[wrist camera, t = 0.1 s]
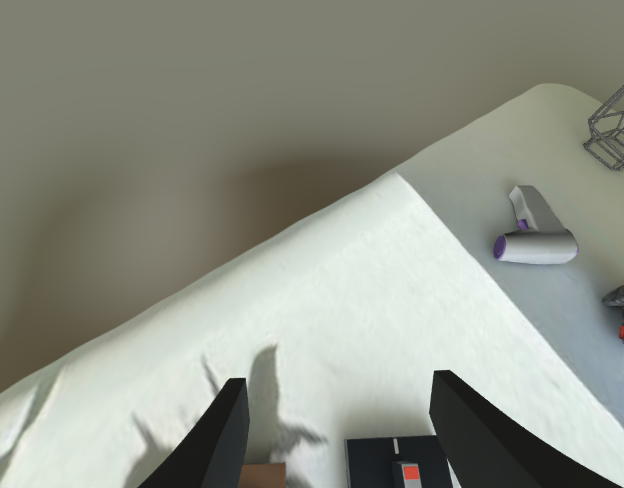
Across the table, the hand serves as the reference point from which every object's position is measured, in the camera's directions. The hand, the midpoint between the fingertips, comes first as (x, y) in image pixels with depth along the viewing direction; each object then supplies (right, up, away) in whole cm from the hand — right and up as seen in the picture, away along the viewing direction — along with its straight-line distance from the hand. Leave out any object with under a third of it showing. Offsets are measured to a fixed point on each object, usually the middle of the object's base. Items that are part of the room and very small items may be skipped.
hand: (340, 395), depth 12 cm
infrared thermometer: (+34, +8, +43) cm, 56 cm away
